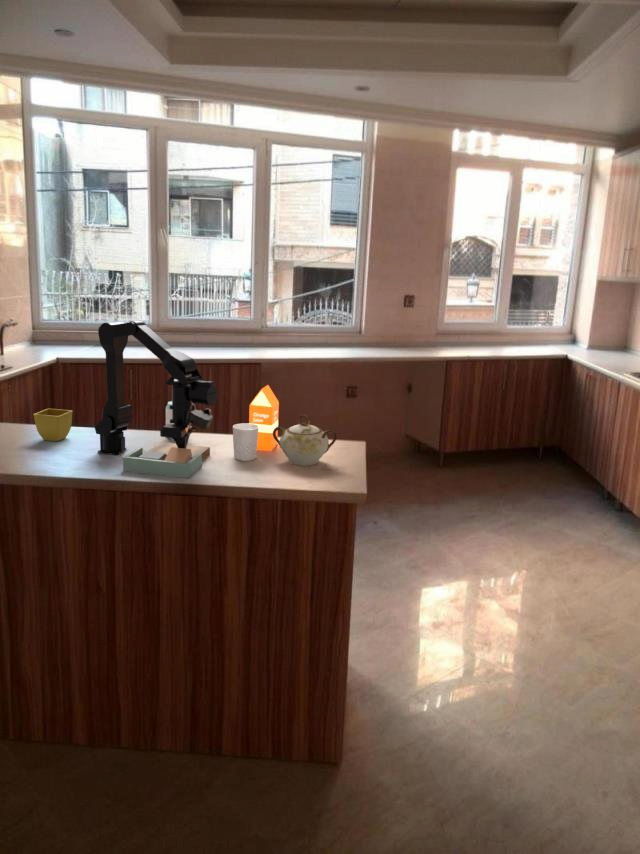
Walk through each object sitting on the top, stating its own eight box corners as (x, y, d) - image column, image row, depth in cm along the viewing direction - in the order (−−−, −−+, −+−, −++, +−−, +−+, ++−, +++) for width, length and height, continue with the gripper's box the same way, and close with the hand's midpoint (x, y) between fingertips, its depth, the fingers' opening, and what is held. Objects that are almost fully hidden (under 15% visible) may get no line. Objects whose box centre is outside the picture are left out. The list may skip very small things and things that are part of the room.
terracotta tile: (165, 467, 190) (163, 461, 188) (172, 453, 194) (171, 447, 192) (185, 469, 189) (183, 463, 187) (192, 455, 193) (190, 449, 191)
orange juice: (277, 443, 222) (279, 385, 217) (271, 451, 213) (273, 390, 208) (255, 441, 223) (256, 383, 218) (247, 448, 214) (249, 388, 209)
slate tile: (138, 465, 190) (138, 457, 190) (146, 459, 196) (146, 451, 196) (158, 467, 190) (158, 458, 189) (165, 461, 196) (165, 452, 195)
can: (164, 435, 225) (164, 400, 222) (185, 433, 227) (185, 399, 224) (167, 440, 218) (167, 405, 215) (189, 439, 221) (189, 404, 218)
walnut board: (144, 460, 197) (144, 452, 196) (161, 449, 208) (161, 441, 208) (196, 466, 194) (196, 458, 194) (209, 454, 206) (210, 447, 205)
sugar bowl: (266, 466, 198) (267, 417, 194) (277, 452, 212) (278, 406, 209) (331, 472, 196) (334, 423, 192) (337, 458, 210) (340, 412, 206)
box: (123, 470, 187) (122, 457, 186) (139, 459, 197) (139, 447, 196) (188, 478, 184) (188, 464, 183) (201, 466, 194) (201, 453, 193)
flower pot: (34, 441, 210) (32, 413, 207) (49, 434, 218) (48, 407, 216) (59, 444, 208) (58, 416, 206) (74, 437, 217) (73, 410, 214)
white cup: (253, 462, 200) (254, 431, 198) (228, 459, 202) (229, 428, 199) (260, 455, 208) (261, 424, 205) (236, 452, 209) (237, 422, 207)
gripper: (197, 411, 179) (197, 465, 183) (219, 396, 197) (219, 446, 201) (158, 407, 181) (159, 461, 185) (184, 393, 199) (184, 443, 203)
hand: (182, 453), depth 193 cm, fingers closed
